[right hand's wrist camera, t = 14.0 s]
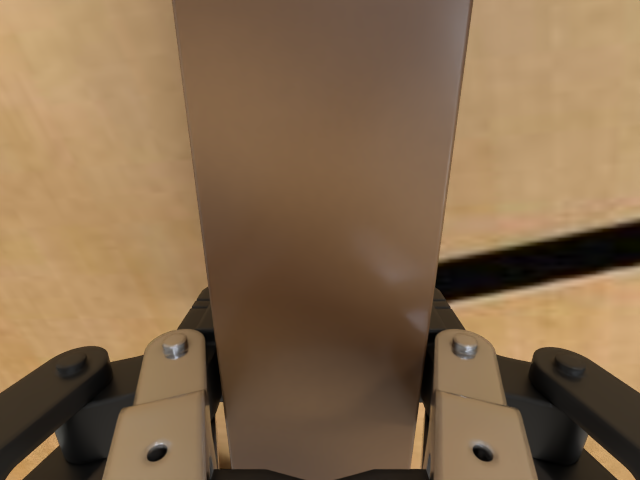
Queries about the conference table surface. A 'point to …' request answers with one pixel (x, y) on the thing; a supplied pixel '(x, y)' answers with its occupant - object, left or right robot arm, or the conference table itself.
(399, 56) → the post
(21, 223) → the conference table surface
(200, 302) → the right robot arm
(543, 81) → the conference table surface
